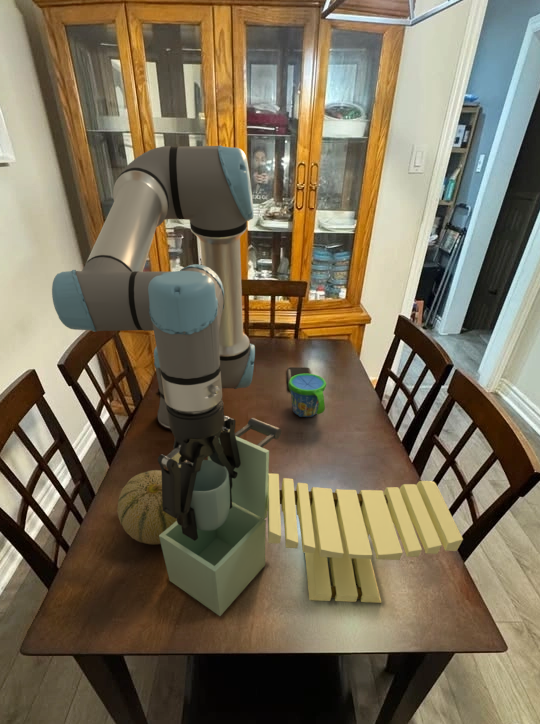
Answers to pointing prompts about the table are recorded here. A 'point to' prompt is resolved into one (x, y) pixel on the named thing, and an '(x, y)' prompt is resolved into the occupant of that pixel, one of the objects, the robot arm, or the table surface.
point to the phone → (296, 372)
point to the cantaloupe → (144, 508)
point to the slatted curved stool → (357, 531)
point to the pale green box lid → (253, 469)
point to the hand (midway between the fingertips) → (208, 519)
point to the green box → (216, 558)
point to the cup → (211, 496)
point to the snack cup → (307, 394)
